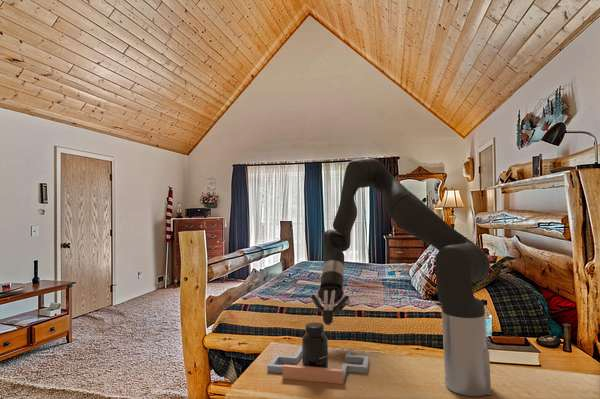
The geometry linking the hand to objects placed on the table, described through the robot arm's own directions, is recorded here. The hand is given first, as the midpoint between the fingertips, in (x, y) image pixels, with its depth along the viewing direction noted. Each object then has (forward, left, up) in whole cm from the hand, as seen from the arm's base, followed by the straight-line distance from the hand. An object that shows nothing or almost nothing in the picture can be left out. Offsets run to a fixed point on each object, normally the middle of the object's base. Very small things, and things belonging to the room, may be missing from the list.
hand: (327, 323), depth 109 cm
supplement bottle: (+1, +16, -8) cm, 18 cm away
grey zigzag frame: (0, +12, -8) cm, 14 cm away
